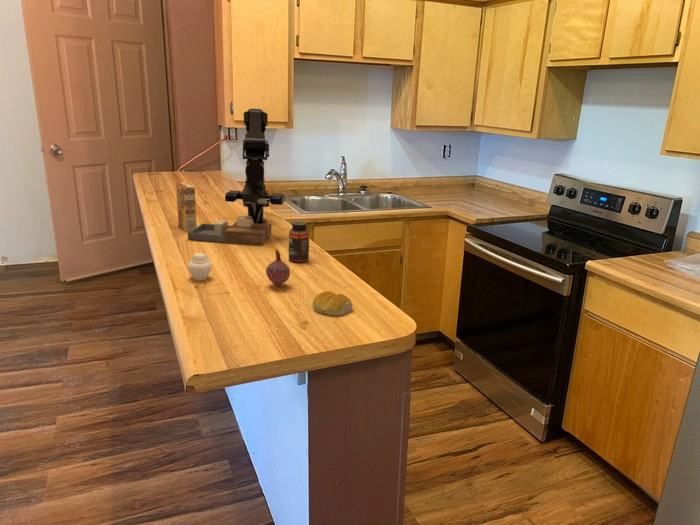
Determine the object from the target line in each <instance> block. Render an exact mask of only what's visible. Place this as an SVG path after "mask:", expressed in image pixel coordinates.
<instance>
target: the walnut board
mask: <svg viewBox="0 0 700 525" xmlns="http://www.w3.org/2000/svg"><path fill="white" fill-rule="evenodd" d="M230 226H231V227H229V228H228V229H227V230H225V242H224V244H229V245H231V244H232V245H242V246H254V247H255V246H256V247H262V246H263V245H264V244H265V243H266V242H267V241H268V240H269V239H270V238H271V237H272V224H268V223H263V224H259V223H254V224H253V225H252V226H251V227H245V226H237V221H236V222H234V223H233V224H232V225H230ZM270 236H271V237H270Z"/></svg>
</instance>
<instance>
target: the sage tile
mask: <svg viewBox="0 0 700 525" xmlns="http://www.w3.org/2000/svg"><path fill="white" fill-rule="evenodd" d="M213 224H214V234H215V235H224V236H225V230H227V229H228V226H229V222H228V221H227V220H219V221H217V222H215V223H213Z"/></svg>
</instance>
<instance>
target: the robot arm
mask: <svg viewBox="0 0 700 525" xmlns="http://www.w3.org/2000/svg"><path fill="white" fill-rule="evenodd" d="M268 117H269V116H268V113H267V112H265V111H264V110H263V109H261V108H248V109H247V111H244V112H243V126H245V131H246V133H245V136H244V139H242V160H246V161H245V182H244V183H245V184H244V187H243V189H242V191H241V190H232V189H231V190H229V191H227V192H226V193H225V196H224V201H225V202H232V203H235V202H236V201H237V200H242V205H243V207H245V208H247V216H252V219H253V222H254V223H259V224H265V223H266V222H267V219H265V218H264V208H268V207H269V206H270V204H271V205H276V206H278V205H279V206H280V205H284V203H285V202H286V196H285V194H284V193H279V192H273V193H271V194H269V193H268V190H266V185H265V181H266V180H265V161H268V158H270V144H269V141H268V140H266V135H265V133H266V127H268Z"/></svg>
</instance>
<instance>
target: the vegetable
mask: <svg viewBox="0 0 700 525" xmlns="http://www.w3.org/2000/svg"><path fill="white" fill-rule="evenodd" d="M275 256H276V258H275V260H274V261H272V262H270V263H269V264H268V265H267V267H266V269H265V274H266V276H267V279H268V280H269V281H270V282H271V283H272V284H273V285H274V286H276V287H280V286H282V284H285V282H287V281H289V278H290V277H291V276H290V275H291V270H290V267H289V265H288V264H286V262H284V261H283V260H282V259H281V253H280V251H279V249H278V248H275Z"/></svg>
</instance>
